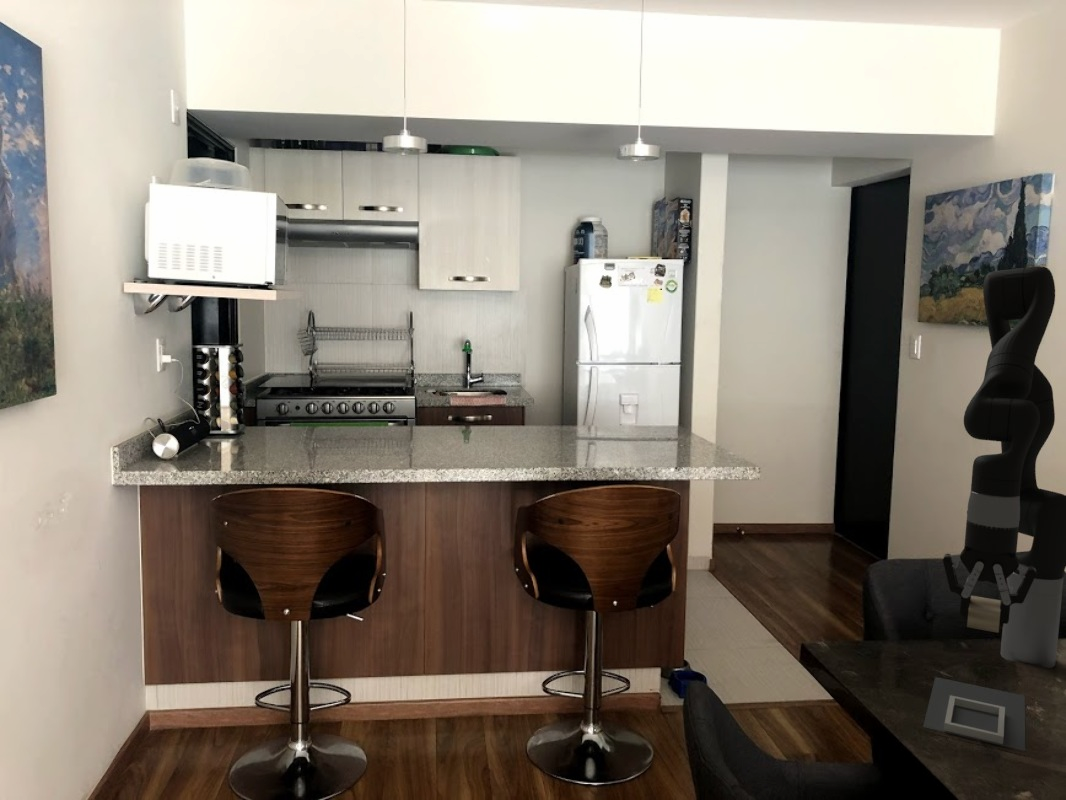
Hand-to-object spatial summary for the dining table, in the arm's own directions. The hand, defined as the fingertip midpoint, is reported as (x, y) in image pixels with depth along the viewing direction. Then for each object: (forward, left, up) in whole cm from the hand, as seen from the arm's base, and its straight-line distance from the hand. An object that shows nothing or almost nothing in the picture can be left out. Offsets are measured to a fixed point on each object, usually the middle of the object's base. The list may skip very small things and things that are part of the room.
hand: (983, 621), depth 142 cm
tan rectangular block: (0, 0, 0) cm, 0 cm away
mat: (+2, +1, -15) cm, 15 cm away
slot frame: (+6, +2, -15) cm, 17 cm away
